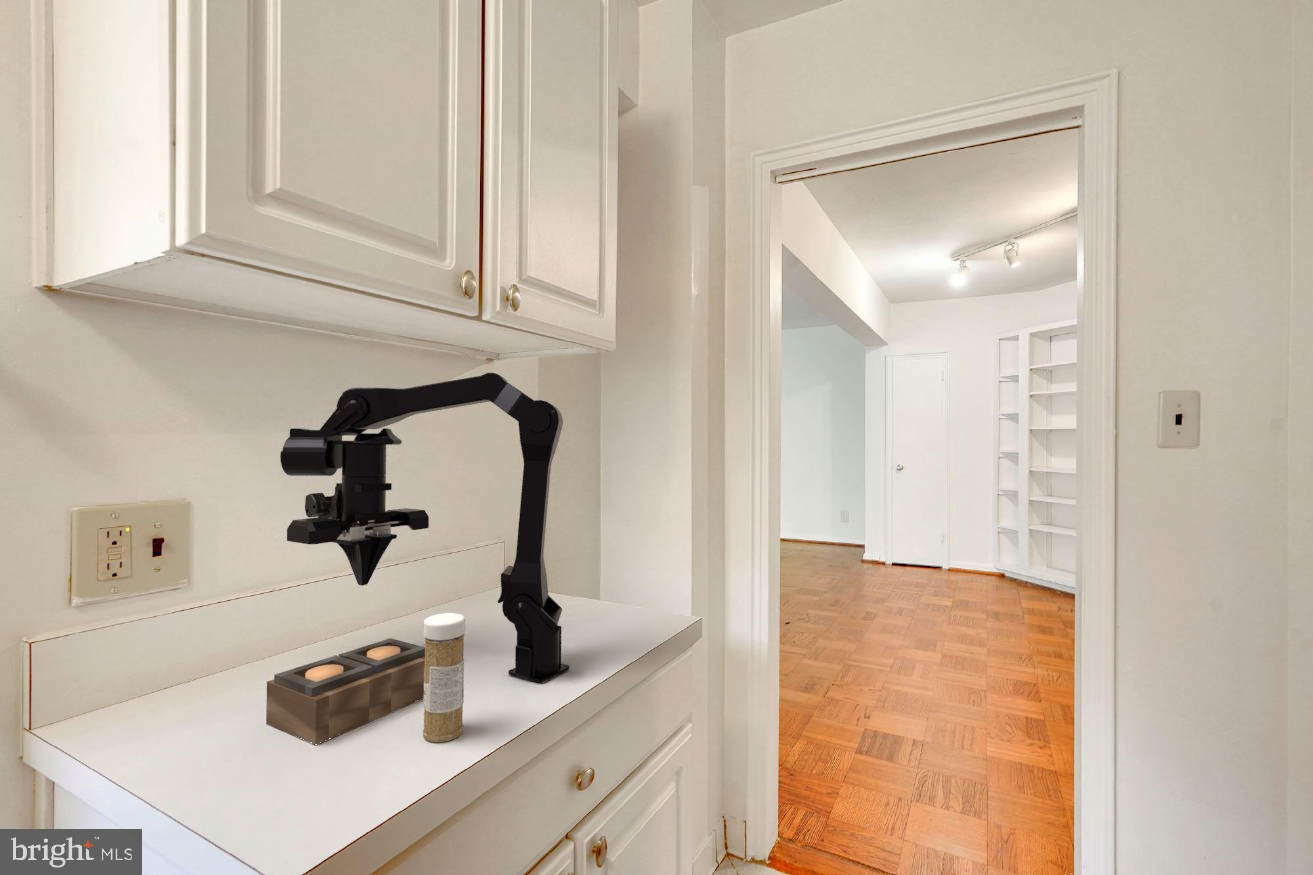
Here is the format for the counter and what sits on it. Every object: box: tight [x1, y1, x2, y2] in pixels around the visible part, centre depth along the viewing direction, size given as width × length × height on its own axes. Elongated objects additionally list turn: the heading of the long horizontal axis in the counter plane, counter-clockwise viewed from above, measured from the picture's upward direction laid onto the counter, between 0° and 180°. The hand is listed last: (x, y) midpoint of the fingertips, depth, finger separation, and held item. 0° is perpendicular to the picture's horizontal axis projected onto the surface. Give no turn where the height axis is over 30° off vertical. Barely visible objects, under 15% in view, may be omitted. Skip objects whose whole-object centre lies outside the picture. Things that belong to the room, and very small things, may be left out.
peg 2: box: [367, 646, 400, 660], centre depth 80 cm, size 4×4×6 cm
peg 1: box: [305, 665, 343, 682], centre depth 73 cm, size 4×4×6 cm
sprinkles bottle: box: [422, 612, 466, 743], centre depth 70 cm, size 5×5×14 cm
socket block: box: [265, 637, 425, 745], centre depth 76 cm, size 16×10×6 cm, turn 150°
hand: (362, 584), depth 87 cm, fingers closed
